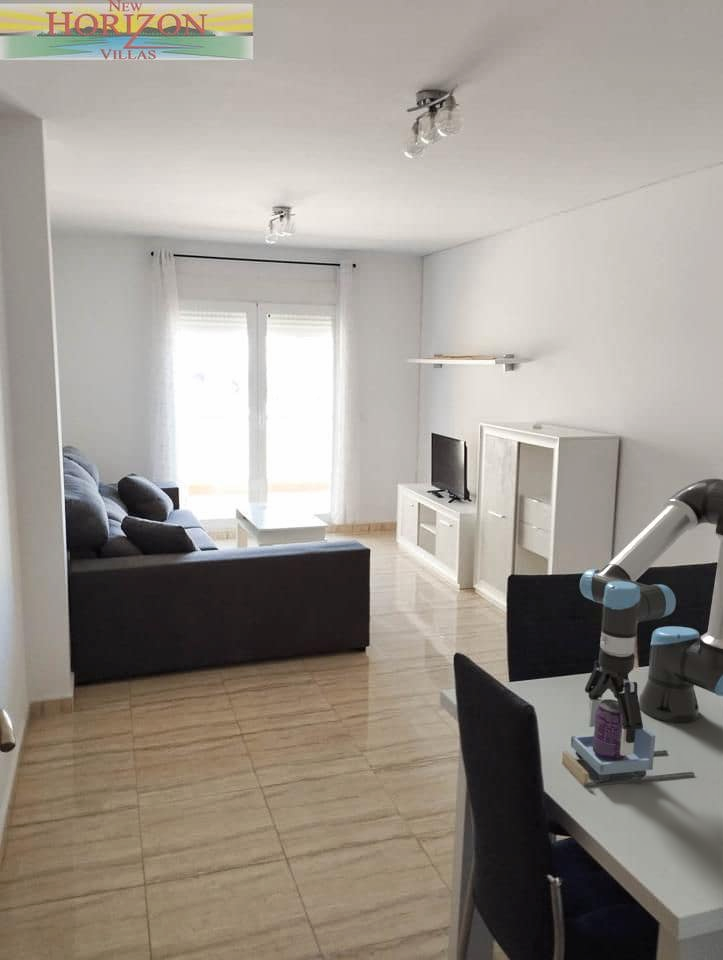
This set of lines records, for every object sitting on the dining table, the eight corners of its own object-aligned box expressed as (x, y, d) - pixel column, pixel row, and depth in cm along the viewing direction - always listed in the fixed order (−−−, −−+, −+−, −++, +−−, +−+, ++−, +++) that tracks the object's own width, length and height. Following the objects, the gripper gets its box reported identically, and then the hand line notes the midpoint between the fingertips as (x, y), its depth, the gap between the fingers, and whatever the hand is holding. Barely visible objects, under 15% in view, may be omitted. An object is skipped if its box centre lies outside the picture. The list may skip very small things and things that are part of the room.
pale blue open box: (619, 750, 182) (622, 710, 180) (651, 779, 169) (655, 735, 168) (570, 755, 179) (573, 713, 177) (599, 785, 166) (602, 740, 165)
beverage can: (622, 749, 176) (627, 700, 174) (627, 764, 169) (631, 714, 167) (591, 745, 177) (595, 696, 176) (594, 760, 171) (598, 710, 169)
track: (665, 752, 184) (666, 740, 183) (694, 775, 173) (695, 763, 173) (561, 762, 177) (562, 750, 177) (584, 787, 167) (585, 774, 166)
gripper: (574, 632, 181) (568, 716, 184) (633, 673, 157) (625, 769, 160) (602, 631, 183) (596, 713, 186) (665, 671, 159) (656, 766, 162)
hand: (609, 739), depth 173 cm, fingers open, 13 cm apart
